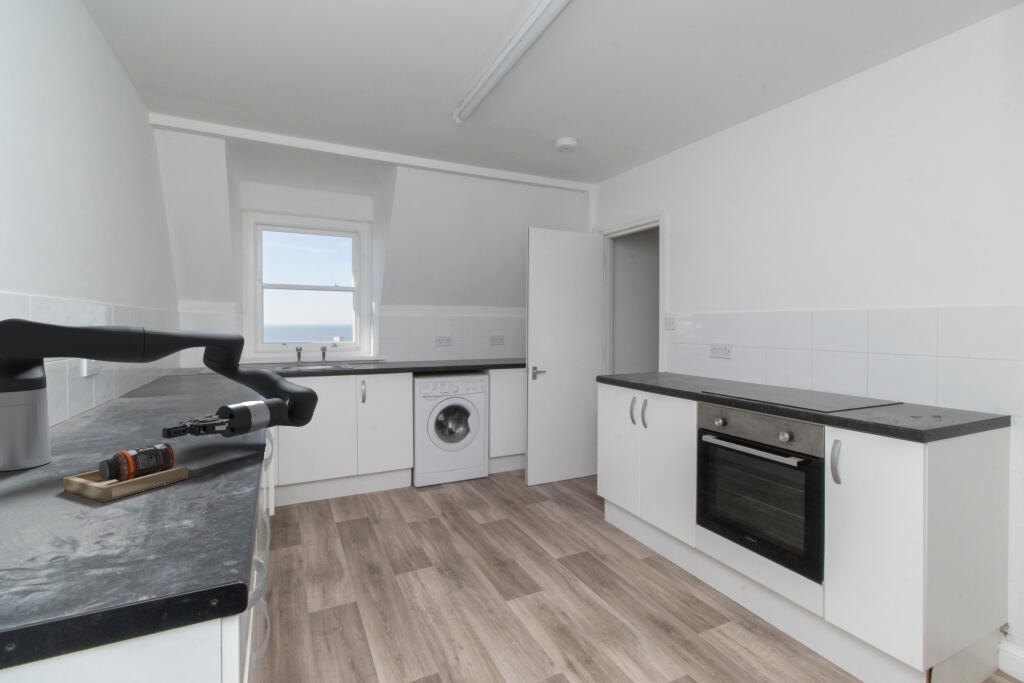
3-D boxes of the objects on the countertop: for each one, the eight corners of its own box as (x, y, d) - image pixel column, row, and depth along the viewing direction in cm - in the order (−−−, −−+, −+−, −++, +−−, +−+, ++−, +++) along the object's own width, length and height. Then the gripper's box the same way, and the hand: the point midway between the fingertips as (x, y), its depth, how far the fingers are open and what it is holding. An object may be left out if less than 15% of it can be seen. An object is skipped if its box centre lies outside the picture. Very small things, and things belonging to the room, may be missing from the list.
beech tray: (63, 490, 93) (63, 477, 93) (146, 470, 105) (146, 458, 105) (104, 502, 86) (103, 488, 86) (187, 478, 98) (187, 466, 98)
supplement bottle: (168, 436, 103) (102, 449, 93) (179, 459, 101) (114, 475, 91) (157, 452, 105) (92, 466, 95) (168, 475, 103) (103, 492, 93)
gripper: (225, 401, 120) (145, 413, 104) (260, 404, 113) (181, 417, 98) (226, 431, 120) (147, 448, 104) (262, 436, 114) (183, 454, 98)
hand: (164, 433), depth 101 cm, fingers closed
